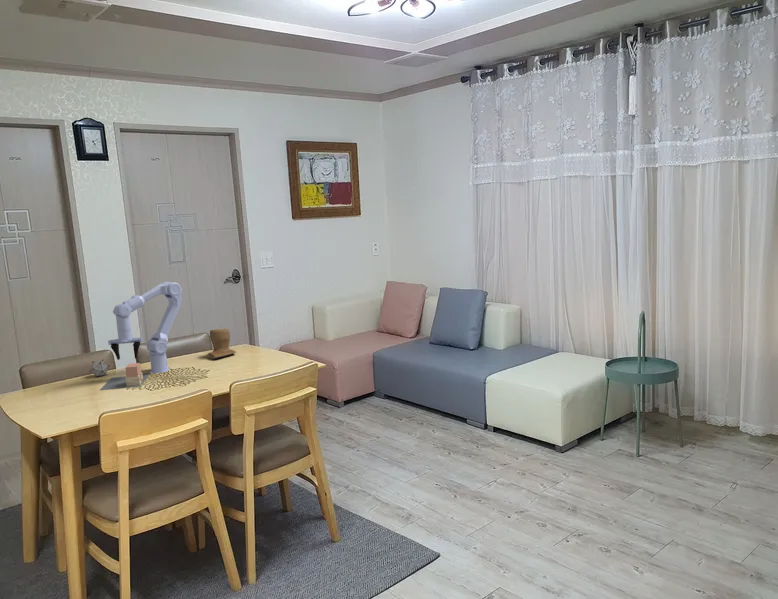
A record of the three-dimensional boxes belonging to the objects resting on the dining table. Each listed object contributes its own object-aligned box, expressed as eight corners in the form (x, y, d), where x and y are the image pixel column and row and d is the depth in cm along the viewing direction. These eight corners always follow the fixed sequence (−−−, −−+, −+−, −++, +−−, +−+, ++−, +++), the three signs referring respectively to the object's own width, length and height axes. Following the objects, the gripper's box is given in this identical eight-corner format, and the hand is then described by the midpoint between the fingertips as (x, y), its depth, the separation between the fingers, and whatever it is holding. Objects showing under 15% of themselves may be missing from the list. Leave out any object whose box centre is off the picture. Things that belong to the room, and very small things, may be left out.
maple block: (130, 382, 276) (129, 373, 275) (143, 380, 277) (142, 372, 276) (126, 386, 269) (125, 377, 268) (139, 385, 270) (139, 376, 269)
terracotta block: (130, 373, 275) (128, 363, 274) (141, 372, 276) (140, 362, 275) (126, 377, 268) (125, 367, 268) (138, 376, 269) (136, 366, 268)
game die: (96, 384, 290) (81, 370, 287) (108, 374, 297) (93, 359, 294) (106, 377, 285) (90, 362, 283) (117, 367, 292) (102, 352, 290)
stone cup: (225, 352, 330) (222, 325, 328) (239, 354, 323) (236, 326, 321) (201, 358, 318) (198, 330, 316) (215, 360, 311) (213, 332, 309)
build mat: (111, 378, 286) (111, 377, 286) (150, 374, 289) (149, 374, 289) (99, 391, 264) (99, 390, 264) (140, 387, 268) (140, 386, 267)
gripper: (105, 332, 276) (108, 362, 278) (139, 330, 279) (142, 359, 281) (109, 330, 283) (112, 358, 285) (142, 327, 286) (145, 355, 287)
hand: (127, 358), depth 283 cm, fingers open, 7 cm apart
